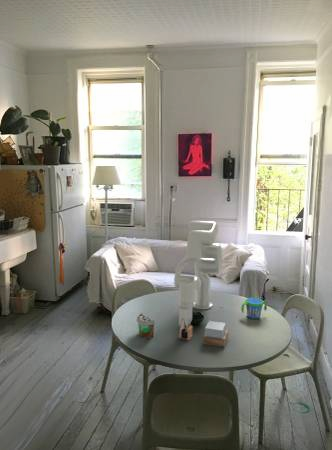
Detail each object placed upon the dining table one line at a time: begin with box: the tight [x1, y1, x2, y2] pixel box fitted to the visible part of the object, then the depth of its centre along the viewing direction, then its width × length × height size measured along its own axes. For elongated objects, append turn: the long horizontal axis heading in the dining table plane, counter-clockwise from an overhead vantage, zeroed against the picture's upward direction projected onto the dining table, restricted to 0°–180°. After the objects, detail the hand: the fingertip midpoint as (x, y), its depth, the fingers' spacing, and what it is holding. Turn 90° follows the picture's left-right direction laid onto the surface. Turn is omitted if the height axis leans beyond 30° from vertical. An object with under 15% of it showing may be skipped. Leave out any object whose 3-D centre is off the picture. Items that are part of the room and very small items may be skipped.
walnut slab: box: [202, 329, 229, 348], centre depth 202 cm, size 11×11×4 cm
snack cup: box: [240, 297, 268, 320], centre depth 231 cm, size 16×10×10 cm
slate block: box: [204, 320, 227, 339], centre depth 201 cm, size 9×9×4 cm
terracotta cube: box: [179, 325, 194, 341], centre depth 206 cm, size 6×6×6 cm
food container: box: [136, 312, 156, 339], centre depth 207 cm, size 12×6×10 cm, turn 37°
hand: (186, 335), depth 206 cm, fingers closed on terracotta cube, 5 cm apart
